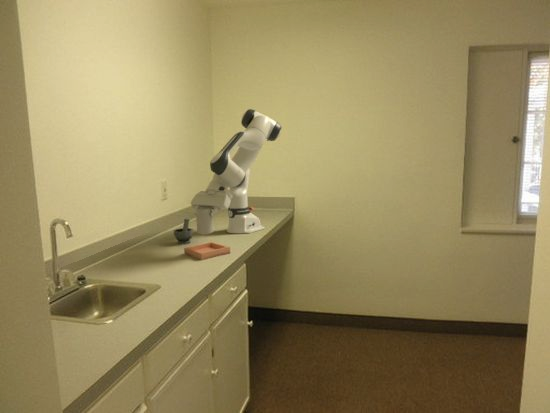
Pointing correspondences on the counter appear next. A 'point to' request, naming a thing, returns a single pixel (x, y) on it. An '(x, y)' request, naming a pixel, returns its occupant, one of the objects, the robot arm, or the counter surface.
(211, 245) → the dish
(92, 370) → the counter surface
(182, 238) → the mortar and pestle
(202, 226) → the can
